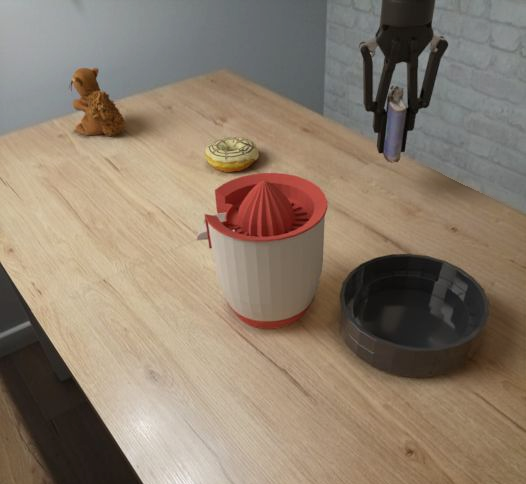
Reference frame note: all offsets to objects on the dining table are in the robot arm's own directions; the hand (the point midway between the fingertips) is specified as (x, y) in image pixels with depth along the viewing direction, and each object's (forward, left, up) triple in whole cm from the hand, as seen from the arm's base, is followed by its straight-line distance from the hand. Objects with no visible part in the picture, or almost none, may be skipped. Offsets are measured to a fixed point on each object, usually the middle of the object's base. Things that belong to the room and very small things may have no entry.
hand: (390, 148), depth 91 cm
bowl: (+2, +36, -8) cm, 37 cm away
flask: (0, 0, -1) cm, 1 cm away
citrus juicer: (+22, +30, -9) cm, 38 cm away
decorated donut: (+29, -14, -9) cm, 34 cm away
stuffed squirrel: (+60, -32, -9) cm, 69 cm away
